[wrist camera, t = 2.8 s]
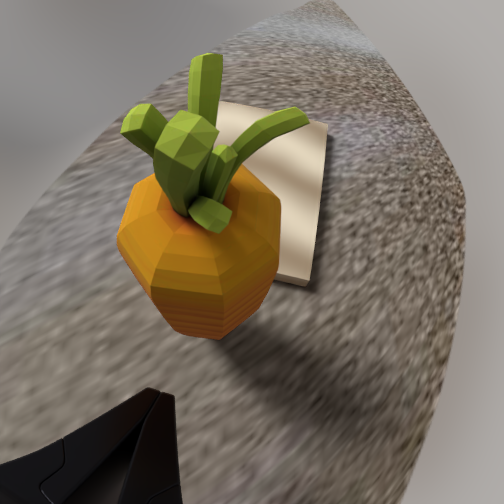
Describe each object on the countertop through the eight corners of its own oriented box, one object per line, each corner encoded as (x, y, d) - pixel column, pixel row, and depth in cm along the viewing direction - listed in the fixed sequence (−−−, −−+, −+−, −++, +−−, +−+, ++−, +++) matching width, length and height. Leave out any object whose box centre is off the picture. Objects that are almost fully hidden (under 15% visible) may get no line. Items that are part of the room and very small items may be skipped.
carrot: (195, 268, 19) (169, 16, 6) (268, 306, 19) (363, 68, 6) (152, 337, 17) (4, 128, 4) (228, 380, 16) (256, 252, 3)
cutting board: (305, 286, 19) (309, 280, 19) (150, 249, 20) (147, 241, 19) (324, 132, 27) (327, 124, 26) (216, 109, 27) (216, 100, 26)
